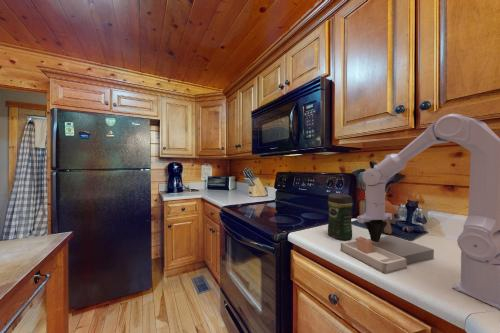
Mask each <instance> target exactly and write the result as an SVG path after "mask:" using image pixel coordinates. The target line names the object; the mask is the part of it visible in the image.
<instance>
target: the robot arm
mask: <svg viewBox="0 0 500 333" xmlns="http://www.w3.org/2000/svg"><path fill="white" fill-rule="evenodd" d="M450 142H453V143H456V144H458V145H459V146H461V147H462V148H464V149H466V150H467V151H469V152H470V160H469V161H470V162H469V163H470V164H469V165H470V168H469V184H468V185H469V190H468V210H467V217H466V220H465V221H464V224H463V229H462V232H461V233H460V235H458V238H457V245H458V248H459V250H460V253H461V254H460V282H458V283H455V284H452V286H451V287H452V288H453V289H455V290H456V291H459V292H461V293H463V294H465V295H468V296H470V297H471V298H475V300H479V301H480V302H484V303H486V304H487V305H490V306H492V307H494V308H497V309H499V310H500V137H499V136H498V135H497V134H496V133H495V132H494V131H493V130H492V129H491V128H490V127H489V126H488V125H487V123H486V122H484V121H482V120H479V119H476V118H473V117H470V116H469V117H467V116H464V115H463V114H459V113H450V114H446V115H443V116H442V117H440V118H438V119H437V120H436V122H433V123H431V124H429V125H428V127H427V128H426V129H425V130H424V131H423V132H422V133H421V134H419V135H418V136H417V137H416V138H415V139H413V140H412V141H411V142H410V143H409V144H407V145H406V146H405V147H404V148H403V149H402V150H400V151H399V152H398V153H391V154H386V155H384V159H383V160H381V161H380V162H379V163H377V164H374V165H373V168H366V169H365V171H364V172H363V173H362V181H363V182H364V184H365V212H363V214H361V215H358V216H357V218H356V219H357V223H360V224H365V227H366V229H367V230H368V234H369V236H370V237H369V239H371V240H372V241H374V242H379V240H380V237H382V233H383V232H384V228H385V226H386V225H387V222H385V221H384V220H385V219H389V220H393V214H389V213H385V201H386V185H387V183H388V182H390V179H391V178H392V177H393V176H395V175H396V174H398V173H399V172H401V171H402V170H403V169H405V168H406V167H407V163H408V161H410V160H411V159H413V158H414V157H416V156H417V155H419V154H420V153H422V152H424V151H425V150H426V149H429V148H430V147H432V146H433V145H438V144H439V145H440V144H447V143H450Z"/></svg>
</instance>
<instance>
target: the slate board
mask: <svg viewBox="0 0 500 333" xmlns="http://www.w3.org/2000/svg"><path fill="white" fill-rule="evenodd" d="M368 240H370V241H372V240H371V238H368ZM372 245H374V246H377V247H379V248H381V249H384V250H386V251H389V252H391V253H394V254H396V255H398V256H401V257H403V258H406V259H407V266H408V265H409V266H410V265H414V264H417V263H421V262H424V261H429V260H434V258H435V253H434V252H435V250H434V248H430V247H428V246H426V245H425V246H424V245H422V244H419V243H415V242H412V241H409V240H406V239H404V238H400V237H398V236H396V235H391V234H390V235H386V236H381V237H380V240H379V242H374V241H372Z"/></svg>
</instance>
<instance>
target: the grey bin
mask: <svg viewBox="0 0 500 333" xmlns="http://www.w3.org/2000/svg"><path fill="white" fill-rule="evenodd" d="M340 251H341V252H342V253H344V254H347V255H349V256H351V257H352V258H354V259H356V260H358V261H360V262H362V263H364V264H366V265H367V266H369V267H371V268H373V269H374V270H377V271H379V272H381V273H382V274H384V275H386V274H389V273H394V272H396V271H397V272H398V271H401V270H404V269H407V268H408V267H407V266H408V265H407V259H406V258H403V257H401V256H398V255H396V254H394V253H391V252H389V251H386V250H384V249H381V248H379V247H377V246H374V245H372V251H373V253H374V252H377V253H379V254H381V255H383V256H386V257H388V258H390V261H389V262H382V261H380V260H378V259H376V258H374V257H372V256H369V255H367V254H365V253H363V252H361V251H359V250H357V242H356V239H355V240H349V241H343V242H340Z"/></svg>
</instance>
